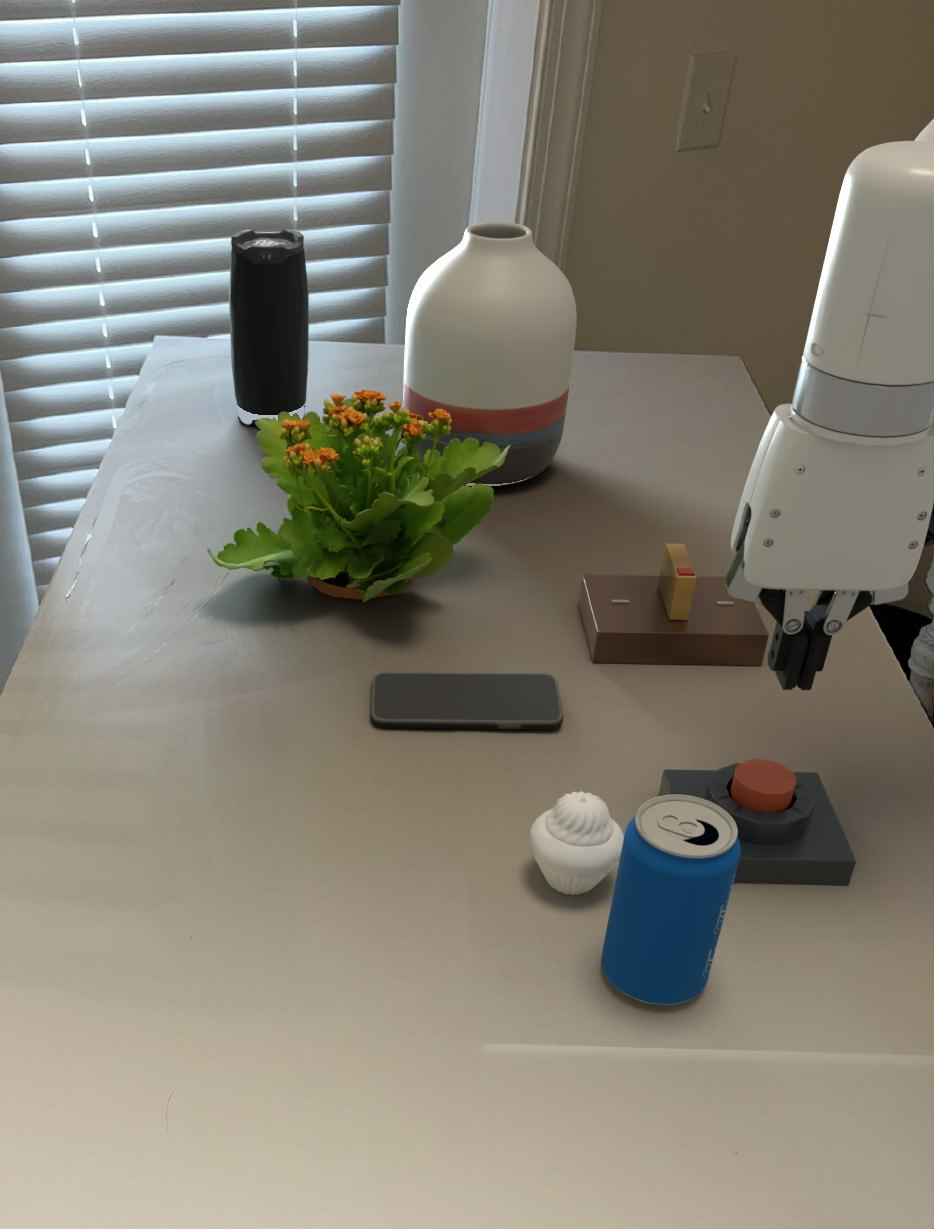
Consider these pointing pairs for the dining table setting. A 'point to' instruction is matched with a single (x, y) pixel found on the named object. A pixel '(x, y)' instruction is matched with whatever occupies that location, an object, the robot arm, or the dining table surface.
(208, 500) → the dining table surface
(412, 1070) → the dining table surface
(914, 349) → the robot arm
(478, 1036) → the dining table surface
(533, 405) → the vase
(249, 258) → the portable speaker
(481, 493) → the potted flower
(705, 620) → the plate
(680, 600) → the yellow red-marked block
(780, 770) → the button
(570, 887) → the muffin
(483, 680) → the smartphone
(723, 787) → the button block
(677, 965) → the beverage can
